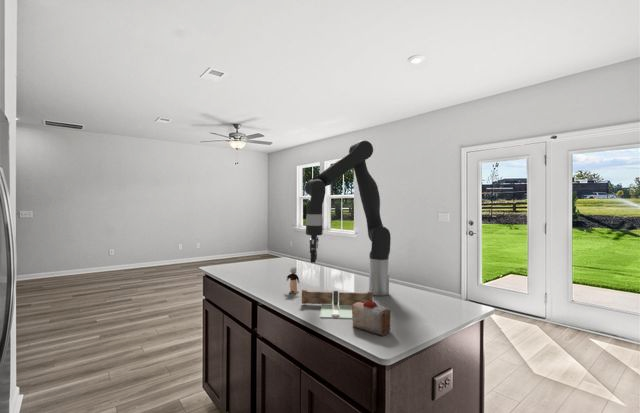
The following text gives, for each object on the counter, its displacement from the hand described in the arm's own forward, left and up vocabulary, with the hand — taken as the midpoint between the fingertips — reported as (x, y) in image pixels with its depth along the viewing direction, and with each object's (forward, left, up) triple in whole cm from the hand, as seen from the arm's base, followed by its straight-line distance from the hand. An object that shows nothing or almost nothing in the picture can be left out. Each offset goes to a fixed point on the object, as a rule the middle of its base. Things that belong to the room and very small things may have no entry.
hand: (313, 260), depth 143 cm
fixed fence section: (-19, +6, -18) cm, 26 cm away
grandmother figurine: (+11, -13, -18) cm, 25 cm away
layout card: (-16, +11, -18) cm, 26 cm away
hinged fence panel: (-3, +6, -17) cm, 18 cm away
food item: (-22, +30, -18) cm, 42 cm away
